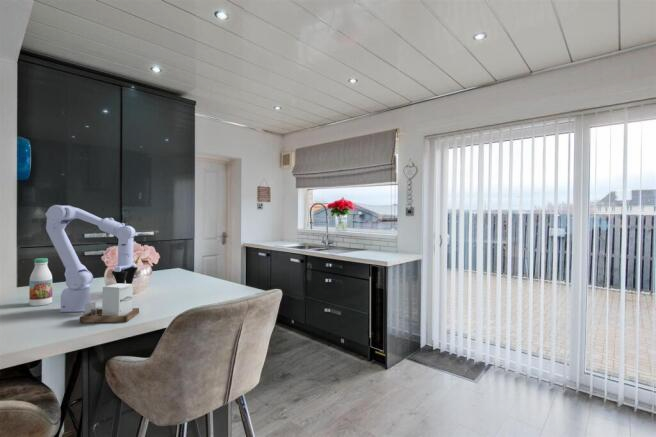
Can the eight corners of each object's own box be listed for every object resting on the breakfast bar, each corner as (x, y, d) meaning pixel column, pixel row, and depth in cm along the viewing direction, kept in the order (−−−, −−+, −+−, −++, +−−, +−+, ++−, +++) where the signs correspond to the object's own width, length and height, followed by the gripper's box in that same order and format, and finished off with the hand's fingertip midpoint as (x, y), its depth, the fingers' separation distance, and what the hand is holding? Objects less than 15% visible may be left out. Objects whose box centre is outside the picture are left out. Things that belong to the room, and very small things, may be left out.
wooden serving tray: (77, 322, 124) (77, 307, 124) (94, 313, 135) (94, 299, 135) (126, 321, 127) (126, 306, 127) (138, 313, 137) (139, 299, 137)
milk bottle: (25, 305, 147) (25, 259, 147) (45, 301, 154) (45, 257, 154) (35, 307, 144) (36, 260, 144) (56, 303, 151) (56, 258, 151)
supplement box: (118, 321, 127) (118, 287, 127) (101, 319, 128) (101, 286, 128) (133, 315, 134) (133, 283, 134) (117, 314, 136) (117, 282, 136)
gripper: (127, 256, 139) (127, 289, 139) (142, 252, 153) (141, 282, 153) (109, 256, 138) (108, 289, 138) (125, 252, 152) (125, 282, 152)
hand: (125, 285), depth 146 cm, fingers open, 7 cm apart
